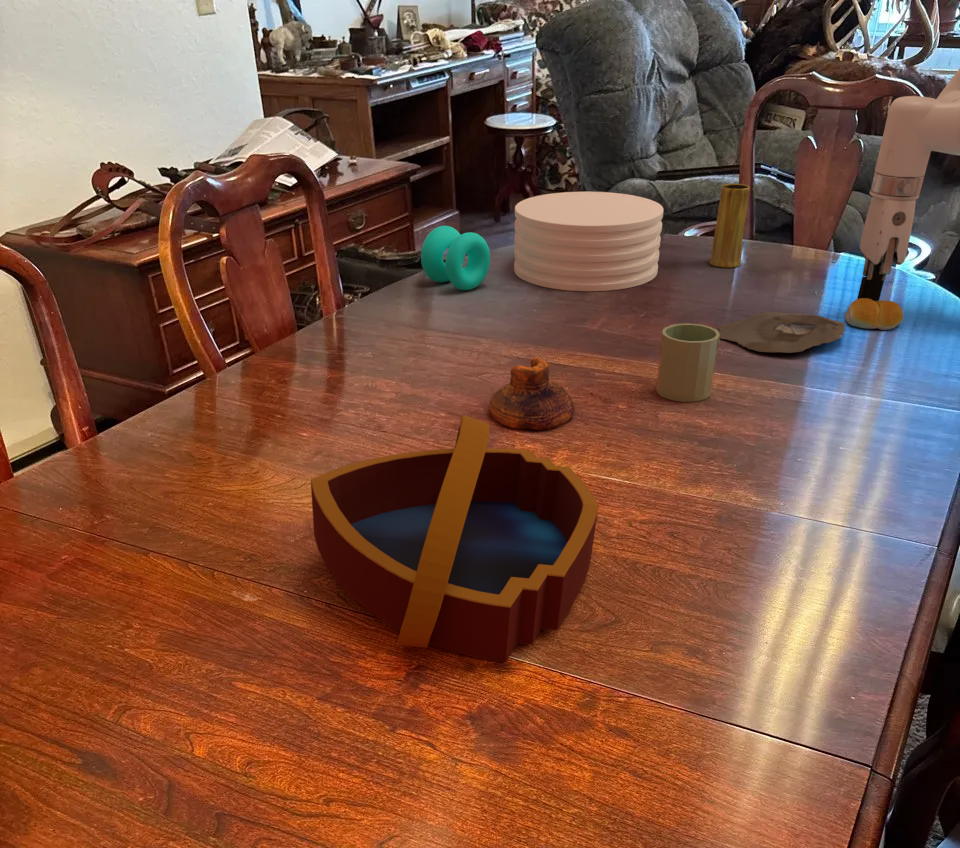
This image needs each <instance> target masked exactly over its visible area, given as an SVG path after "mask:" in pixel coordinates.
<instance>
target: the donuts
mask: <svg viewBox="0 0 960 848" xmlns="http://www.w3.org/2000/svg"><path fill="white" fill-rule="evenodd" d="M446 250H447V252H446ZM445 252H446V254H445ZM444 254H445V255H446V256H445V261H444ZM466 254H467V262H466V264H465V266H464V267H463V265H464V262H465V259H466ZM420 262H421V266H422V267H421V268H422V269H423V272H424V273H425V275H426V276H427V277H428V278H429V280H431V281H433V282H436V283H446V282H450V283H451V285H452V286H454V287H455V288H457V289H458V290H460V291H471V290H473V289H474V290H475V288H477V287H478V286H480V285H481V284H482V283H483V281H484V280H485V279H486V277H487V274H488V272H489V270H490V266H491V265H490V264H491V251H490V248H489V245H488V243H487V241H486V239H485V238H484V237H483V236H482V235H480V234H478V233H476V232H472V231H471V232H470V231H469V232H464V233H460V232H459V231H458V230H457V229H456V228H454V227H452V226H449V225H439V226H437V227H435V228H433V229H432V230H430V231H429V233H428V234H427V236H426V237H425V239H424V241H423V243H422V246H421V251H420Z"/></svg>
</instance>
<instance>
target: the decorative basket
mask: <svg viewBox="0 0 960 848" xmlns="http://www.w3.org/2000/svg"><path fill="white" fill-rule="evenodd" d="M489 439H490V424H489V422H487V421H483V420H480V419H478V418H474V417H470V416H468V415H464V414H462V415H461V416H460V421H459V425H458V430H457V434H456V439H455V444H454V448H441V449H440V448H439V449H428V450H418V451H410V452H409V451H408V452H403V453H395V454H388V455H383V456H379V457H378V456H377V457H374V458H370V459H365V460H361V461H357V462H354V463H350V464H347V465H344V466H341V467H337V468H335V469H333V470H330V471H326V472H325V473H322V474H320V475H318V476H315V477H313V478H311V479H310V489H311V490H310V492H311V504H312V505H311V507H312V521H313V522H312V524H313V535H314V540H315V543H316V548H317V551H318V553H319V555H320V556H321V558H322V560H323V563H324V564H325V566H326V568H327V569H328V571H329V572H330V573H331V575H332V577H333V579H334V580H335V581H336V582H337V584H338V585H339V586H340V587H341V588H342V589H343V590H344V591H345V592H346V593H347V594H348V595H349V597H351V598H352V599H353V600H354V601H355V602H356V603H357V604H359V605H360V606H361V607H362V608H364V609H365V610H367V611H368V612H369V613H370V614H372V615H374V616H375V617H376V618H378V619H380V621H382V622H384V623H385V624H387V625H389V626H390V627H392V628H394V629H395V630H397V631H399V634H398V637H397V642H396V643H397V646H402V647H412V648H423V649H424V648H425V649H427V648H428V647H429V645H431V646H434V647H437V648H440V649H443V650H447V651H450V652H453V653H457V654H461V655H464V656H469V657H472V658H473V657H474V658H478V659H483V660H489V661H495V662H496V661H497V662H503V663H506V662H507V661H508V659H509V658H510V656H511V654H512V653H513V651H514V650H515V648H516V647H517V645H518V644H521V645H523V644H524V645H531V646H533V644H534V642H535V640H536V639H537V637H538V635H539V633H540V632H541V631H542V630H546V631H547V630H548V631H558V630H559V628H560V626H561V624H562V623H563V622H564V620H565V618H566V616H567V615H568V614H569V612H570V610H571V608H572V606H573V605H574V604H575V601H576V599H577V597H578V596H579V593H580V591H581V589H582V587H583V585H584V583H585V581H586V578H587V577H588V576H587V575H588V572H589V569H590V566H591V560H592V554H593V547H594V541H595V532H596V526H597V519H598V513H599V512H598V511H599V503H598V501H597V499H596V497H595V496H594V494H593V492H592V490H590V488H589V487H588V486H587V484H586V483H585V482H584V481H583V480H582V479H581V477H580V476H578V475H577V474H576V473H575V471H573V469H572V468H571V467H570V466H561V465H556V464H554V462H553V461H552V460H551V459H550V458H546V457H545V458H543V457H538V456H536V455H535V454H534V453H533V451H532V450H530V449H521V448H499V447H488V443H489Z"/></svg>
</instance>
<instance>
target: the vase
mask: <svg viewBox="0 0 960 848" xmlns="http://www.w3.org/2000/svg"><path fill="white" fill-rule="evenodd" d="M750 191H751V189H750V186H749V185H747V184H744V183H724V184H722V185H721V188H720V194H719V195H720V196H719V204H718V211H717V217H716V224H715V230H714V235H713V240H712V245H711V246H712V247H711V253H710V259H709V265H711V266H713V267H716V268H720V269H734V268H738V267H739V266H740V265H742V253H743V242H744V241H743V240H744V229H745V223H746V218H747V211H748V202H749V198H750V197H749V196H750Z"/></svg>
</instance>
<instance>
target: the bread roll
mask: <svg viewBox="0 0 960 848" xmlns="http://www.w3.org/2000/svg"><path fill="white" fill-rule="evenodd" d="M844 318H845V321H846V323H847V324H849V326H852V327H855V328H859V329H868V330H869V329H870V330H873V329H874V330H875V329H878V330H882V331H887V330H888V331H889V330H893V329H894V328H896V327H898V326H899V325H901V323H902V322H903V321H904V311H903V309H902V307H901V305H900V304H898V303H897V302H895V301H893V300H883V299H882V300H879V301H873V300H871V299H868V298H860V299H857V298H856V299H855V300H853V301H851V303H850V304H849V306H848V307H847V310H846V312H845V313H844Z"/></svg>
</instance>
